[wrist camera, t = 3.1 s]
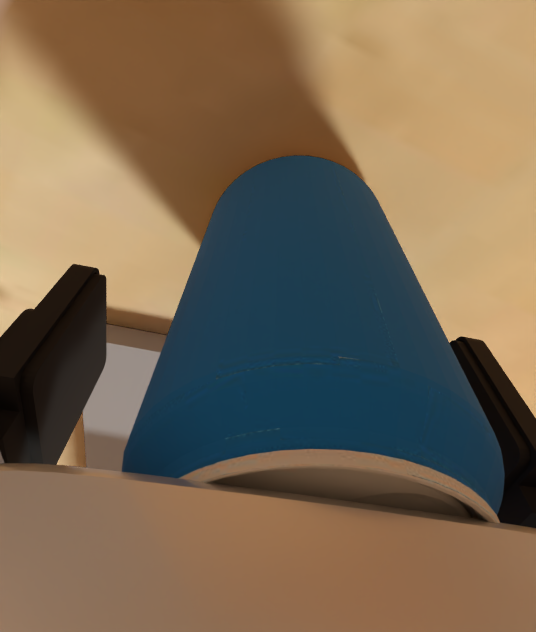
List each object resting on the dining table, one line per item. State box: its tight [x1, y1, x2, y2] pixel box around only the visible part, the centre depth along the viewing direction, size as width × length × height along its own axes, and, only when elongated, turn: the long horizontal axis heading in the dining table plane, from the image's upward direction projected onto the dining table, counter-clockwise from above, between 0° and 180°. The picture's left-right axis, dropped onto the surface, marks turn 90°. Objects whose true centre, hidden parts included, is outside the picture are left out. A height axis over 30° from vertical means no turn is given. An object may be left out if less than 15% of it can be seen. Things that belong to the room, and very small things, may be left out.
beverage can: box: [122, 156, 504, 523], centre depth 11 cm, size 6×6×12 cm
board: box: [83, 324, 167, 472], centre depth 23 cm, size 18×14×4 cm
